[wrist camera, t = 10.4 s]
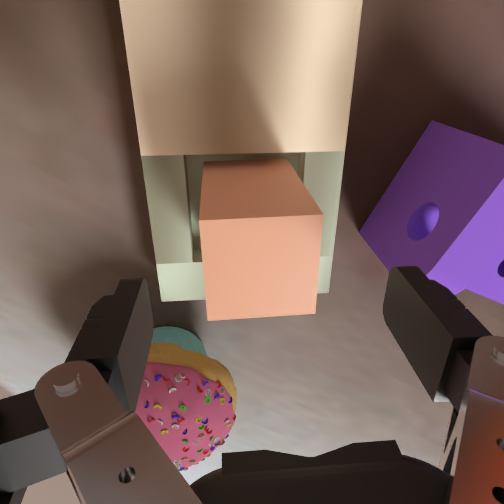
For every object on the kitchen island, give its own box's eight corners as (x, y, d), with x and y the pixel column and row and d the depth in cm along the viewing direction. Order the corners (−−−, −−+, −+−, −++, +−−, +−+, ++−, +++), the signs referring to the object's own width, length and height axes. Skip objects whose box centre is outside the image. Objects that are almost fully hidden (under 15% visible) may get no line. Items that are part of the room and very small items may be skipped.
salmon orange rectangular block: (286, 158, 18) (323, 214, 12) (284, 232, 20) (315, 313, 14) (203, 161, 18) (198, 220, 12) (209, 236, 20) (207, 320, 14)
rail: (395, -539, 10) (443, -694, 8) (317, 269, 23) (328, 292, 21) (56, -582, 10) (11, -763, 8) (166, 276, 22) (161, 301, 20)
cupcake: (172, 413, 28) (147, 636, 17) (72, 354, 24) (-34, 589, 14) (258, 348, 26) (291, 560, 15) (162, 273, 22) (116, 480, 12)
